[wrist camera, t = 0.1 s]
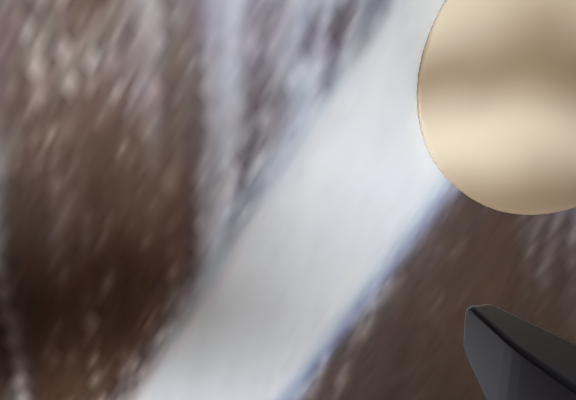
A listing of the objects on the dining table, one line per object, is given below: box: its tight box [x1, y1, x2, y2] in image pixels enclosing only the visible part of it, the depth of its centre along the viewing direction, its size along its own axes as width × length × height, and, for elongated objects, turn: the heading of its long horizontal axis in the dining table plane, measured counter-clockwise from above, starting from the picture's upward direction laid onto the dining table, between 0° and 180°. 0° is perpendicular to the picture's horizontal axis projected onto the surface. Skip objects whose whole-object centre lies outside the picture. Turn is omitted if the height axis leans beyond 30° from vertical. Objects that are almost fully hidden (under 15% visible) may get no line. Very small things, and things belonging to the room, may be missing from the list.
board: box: [417, 0, 576, 215], centre depth 22 cm, size 14×14×1 cm
